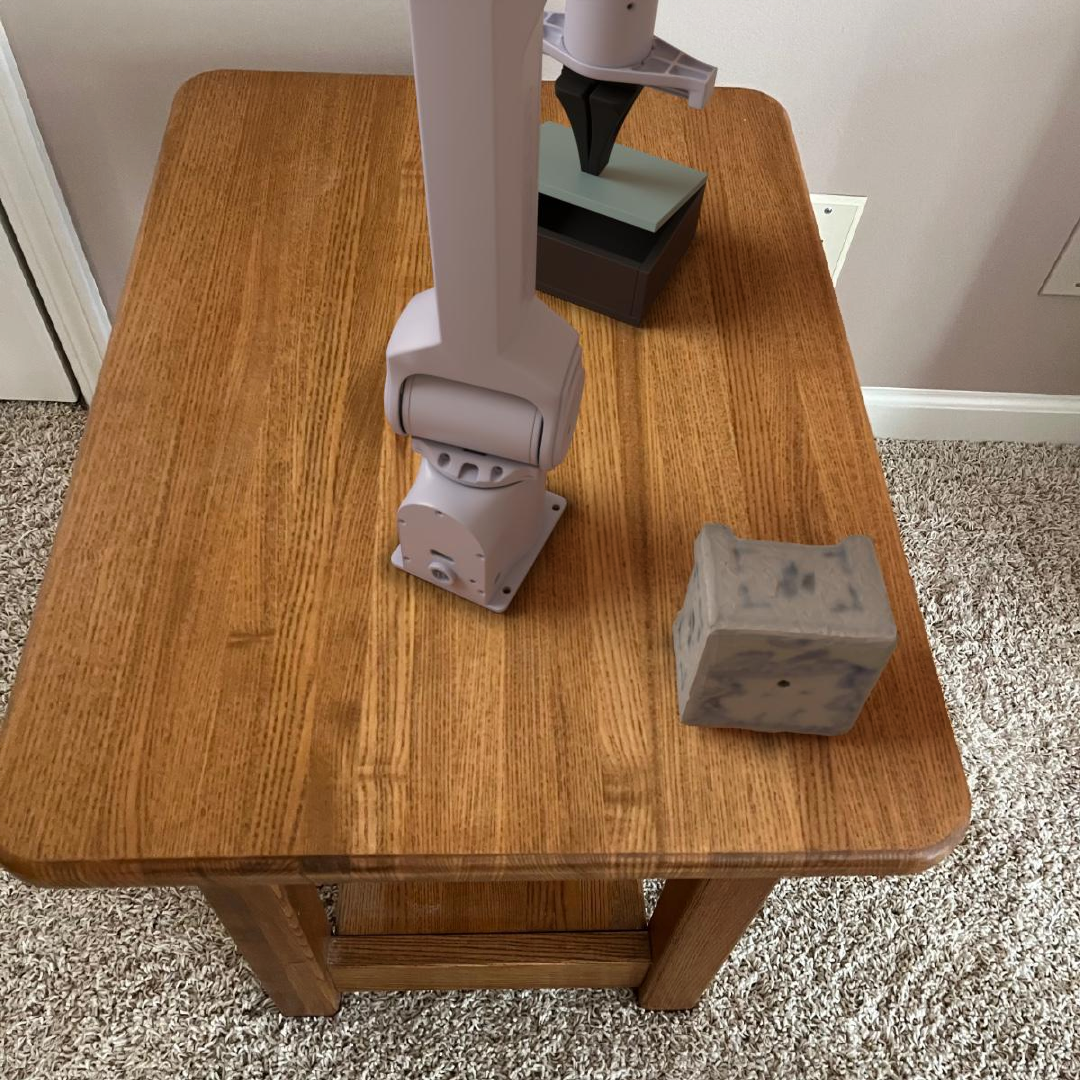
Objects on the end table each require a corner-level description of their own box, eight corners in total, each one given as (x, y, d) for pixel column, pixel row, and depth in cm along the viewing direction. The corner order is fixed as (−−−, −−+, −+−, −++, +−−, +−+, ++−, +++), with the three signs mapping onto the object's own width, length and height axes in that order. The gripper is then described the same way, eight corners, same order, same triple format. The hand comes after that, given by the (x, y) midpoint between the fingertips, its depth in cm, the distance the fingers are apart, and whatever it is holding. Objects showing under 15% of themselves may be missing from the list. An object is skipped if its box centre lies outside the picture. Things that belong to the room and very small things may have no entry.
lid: (654, 233, 66) (657, 222, 65) (475, 170, 69) (477, 160, 68) (706, 182, 75) (708, 173, 75) (546, 129, 78) (548, 120, 77)
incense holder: (828, 618, 61) (885, 523, 52) (844, 745, 56) (909, 665, 47) (670, 607, 60) (700, 510, 52) (672, 734, 56) (706, 651, 47)
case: (639, 328, 74) (648, 273, 69) (479, 268, 76) (478, 212, 72) (694, 238, 80) (706, 182, 75) (544, 185, 82) (547, 129, 78)
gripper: (749, -26, 60) (708, 167, 71) (536, -87, 63) (529, 107, 74) (709, 29, 56) (672, 223, 68) (485, -38, 59) (485, 158, 71)
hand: (594, 166), depth 71 cm, fingers closed, pressing on lid
